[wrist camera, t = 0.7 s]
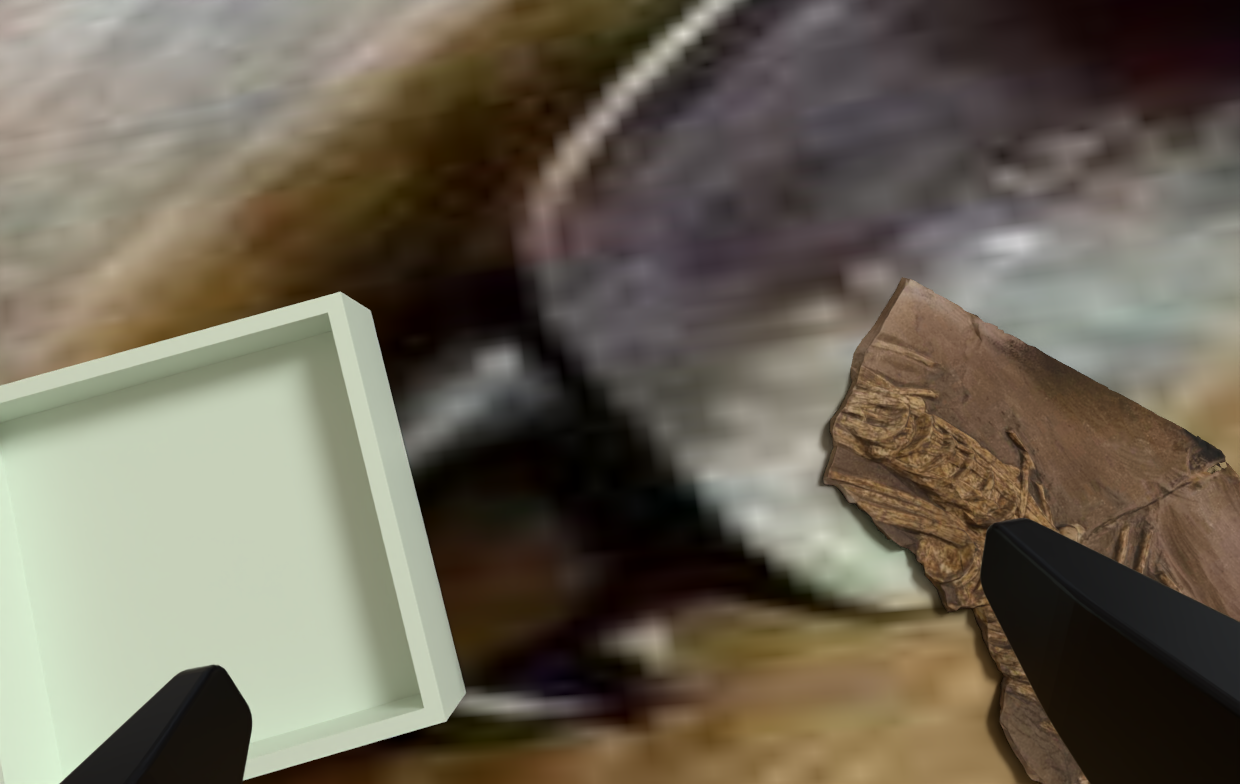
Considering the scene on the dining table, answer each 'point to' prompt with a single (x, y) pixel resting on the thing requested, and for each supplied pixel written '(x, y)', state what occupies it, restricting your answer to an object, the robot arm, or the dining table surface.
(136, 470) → the tray
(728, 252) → the dining table surface
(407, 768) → the dining table surface
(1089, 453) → the wooden fragment
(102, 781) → the robot arm
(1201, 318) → the dining table surface
